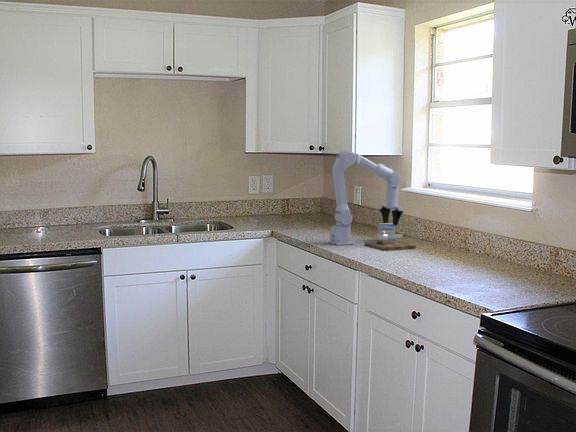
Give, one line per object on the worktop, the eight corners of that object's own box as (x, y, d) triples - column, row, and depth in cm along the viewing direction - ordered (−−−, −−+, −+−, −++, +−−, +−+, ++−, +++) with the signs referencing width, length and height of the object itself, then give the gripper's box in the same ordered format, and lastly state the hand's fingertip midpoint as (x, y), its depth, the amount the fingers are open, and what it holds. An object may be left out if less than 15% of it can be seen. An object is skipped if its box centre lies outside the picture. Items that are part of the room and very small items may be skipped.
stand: (384, 250, 300) (385, 247, 300) (364, 245, 314) (364, 241, 314) (415, 248, 309) (415, 245, 309) (394, 243, 323) (394, 239, 323)
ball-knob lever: (381, 244, 308) (381, 232, 308) (374, 242, 313) (375, 231, 312) (407, 242, 316) (407, 230, 315) (400, 240, 320) (401, 229, 319)
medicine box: (380, 241, 327) (381, 224, 326) (376, 240, 331) (377, 222, 330) (394, 241, 329) (395, 224, 328) (391, 239, 333) (392, 222, 332)
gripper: (408, 197, 316) (406, 225, 317) (389, 194, 328) (387, 221, 330) (396, 197, 312) (394, 226, 314) (377, 194, 325) (376, 222, 327)
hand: (390, 224), depth 322 cm, fingers open, 7 cm apart
